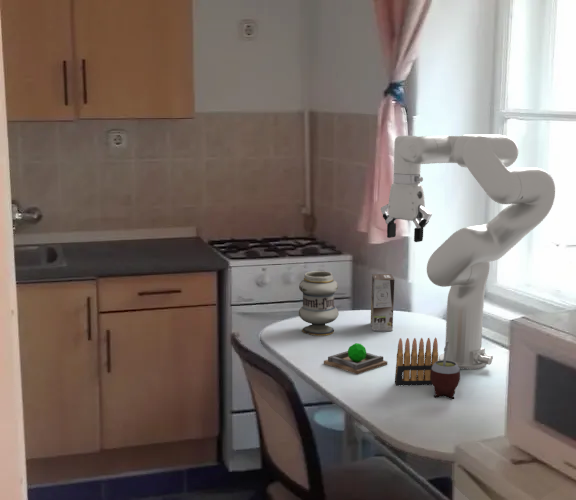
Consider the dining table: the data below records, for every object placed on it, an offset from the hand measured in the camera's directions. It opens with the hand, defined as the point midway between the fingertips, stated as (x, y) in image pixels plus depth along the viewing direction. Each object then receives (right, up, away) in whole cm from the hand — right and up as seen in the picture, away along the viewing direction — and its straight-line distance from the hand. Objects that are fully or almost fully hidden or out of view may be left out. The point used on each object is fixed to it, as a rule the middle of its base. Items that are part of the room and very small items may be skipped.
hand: (404, 239), depth 245 cm
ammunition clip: (-1, -37, -31) cm, 48 cm away
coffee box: (-4, -27, +21) cm, 34 cm away
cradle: (-15, -34, -16) cm, 40 cm away
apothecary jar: (-24, -28, +15) cm, 40 cm away
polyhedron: (-15, -33, -16) cm, 40 cm away
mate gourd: (+4, -38, -40) cm, 55 cm away
